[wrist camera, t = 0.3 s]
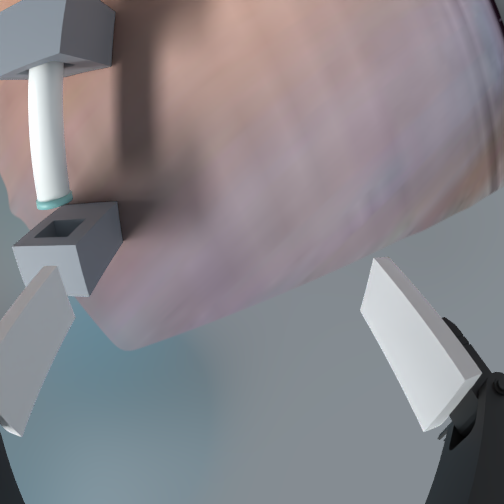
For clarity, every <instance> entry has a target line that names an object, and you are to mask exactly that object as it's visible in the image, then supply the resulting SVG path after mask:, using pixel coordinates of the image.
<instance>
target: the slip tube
mask: <svg viewBox="0 0 504 504" xmlns="http://www.w3.org/2000/svg"><path fill="white" fill-rule="evenodd" d="M63 70H64V63H63V62H57V61H51V62H48V63H45V64H42V65H39V66H36V67H33V68H31V69H29V82H28V114H29V135H30V147H31V157H32V166H33V174H34V181H35V187H36V193H37V200H36V203H37V208H38V209H39V210H48V209H53V208H57V207H60V206H62V205H65V204H67V203H69V202H70V201H72V199H73V196H72V191H71V190H70V187H69V180H68V172H67V163H66V152H65V140H64V122H63Z"/></svg>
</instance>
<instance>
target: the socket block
mask: <svg viewBox="0 0 504 504" xmlns="http://www.w3.org/2000/svg"><path fill="white" fill-rule="evenodd" d="M122 243H123V239H122V233H121V226H120V219H119V212H118V204H117V201H114V202H98V203H84V204H71V205H62V206H61V207H60V208H58V209H57V210H56V211H54V212H53V213H52V214H50V215H49V216H48V217H47V218H45V219H44V220H43V221H42V222H40V223H39V224H38V225H37V226H35V227H34V228H33V229H32V230H31V231H29V232H28V233H27V234H26V235H25V236H24V237H22V238H21V239H20V240H19V241H18V242H17V243H16V244H14V246H12V248H13V251H14V255H15V258H16V261H17V264H18V267H19V270H20V273H21V276H22V279H23V282H24V284H25V287H27V286H28V284H29V283H30V282H31V281H32V279H33V278H34V277H35V276H36V275H37V274H38V272H39V271H40V270H41V269H42V268H43V267H44V266H57V267H58V270H59V273H60V276H61V279H62V282H63V285H64V288H65V291H66V294H67V296H82V297H90V295H91V293H92V291H93V290H94V288H95V286H96V285H97V283H98V281H99V279H100V278H101V276H102V275H103V273H104V271H105V270H106V268H107V266H108V265H109V263H110V262H111V260H112V258H113V257H114V255H115V254H116V252H117V251H118V249H119V247H120V246H121V244H122Z"/></svg>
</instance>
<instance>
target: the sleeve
mask: <svg viewBox="0 0 504 504" xmlns="http://www.w3.org/2000/svg"><path fill="white" fill-rule="evenodd" d="M115 13H116V12H115V11H113V10H112V9H111V8H109V7H108V6H107V5H105V4H104V3H103V2H101V1H100V0H22V1H20V2H18V3H16V4H14V5H12V6H10V7H9V8H7V9H5V10H3V11H1V12H0V80H29V69H31V68H33V67H36V66H39V65H42V64H45V63H48V62H51V61H57V62H63V63H64V70H63V78H64V77H67V76H71V75H75V74H79V73H83V72H88V71H92V70H97V69H102V68H107V67H111V63H112V45H113V32H114V22H115Z"/></svg>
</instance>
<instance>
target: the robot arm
mask: <svg viewBox="0 0 504 504" xmlns="http://www.w3.org/2000/svg"><path fill="white" fill-rule="evenodd" d="M360 311H361V313H362V315H363V317H364V318H365V320H366V322H367V324H368V325H369V327H370V329H371V331H372V333H373V334H374V336H375V338H376V340H377V342H378V343H379V345H380V347H381V349H382V351H383V352H384V354H385V356H386V358H387V360H388V362H389V364H390V366H391V368H392V369H393V371H394V373H395V375H396V377H397V379H398V381H399V383H400V385H401V387H402V389H403V391H404V393H405V395H406V397H407V399H408V401H409V403H410V405H411V407H412V409H413V411H414V413H415V415H416V417H417V419H418V421H419V424H420V426H421V428H422V430H423V432H425V431H428V430H430V429H433V428H435V427H438V426H440V425H441V424H442V423H443V422H444V421H445V420H446V419H447V417H448V416H450V418H451V419H452V422H451V423H450V424H449V425H448V426H447V428H445V430H444V431H443V432H442V433H441V434H440V435H439V437H438V439H439V440H440V439H441V438H442V437H443V436H444V435H445V434H446V433H447V435H446V438H445V439H444V441H445V443H444V447H443V451H442V455H441V458H440V462H439V465H438V468H437V472H436V475H435V478H434V481H433V484H432V487H431V489H430V492H429V495H428V498H427V500H426V503H425V504H504V374H503V373H500V372H495V373H491V371H490V370H489V369H488V367H487V366H486V365H485V363H484V362H483V360H482V359H481V358H480V357H479V355H478V354H477V352H476V351H475V350H474V348H473V347H472V346H471V344H470V345H469V342H468V341H467V339H466V338H465V337H463V334H462V333H461V331H460V330H459V329H458V328H457V326H456V325H455V324H453V323H452V322H451V321H449V320H448V319H447V318H445V317H444V318H441V317H440V316H439V315H438V313H437V312H436V311H435V310H434V308H433V307H432V306H431V305H430V303H429V302H428V301H427V300H426V299H425V297H424V296H423V295H422V294H421V293H420V292H419V291H418V289H417V288H416V287H415V286H414V285H413V283H412V282H411V281H410V280H409V279H408V278H407V277H406V276H405V274H404V273H403V272H402V271H401V270H400V269H399V268H398V267H397V265H396V264H395V263H394V262H393V261H392V260H391V259H390V258H389V257H379V258H373V262H372V267H371V271H370V276H369V280H368V283H367V287H366V291H365V295H364V298H363V302H362V306H361V309H360ZM74 319H75V315H74V313H73V310H72V307H71V305H70V302H69V299H68V296H67V294H66V291H65V288H64V285H63V282H62V279H61V276H60V273H59V270H58V267H57V266H44V267H43V268H42V269H41V270H40V271H39V272H38V274H37V275H36V276H35V277H34V278H33V279H32V281H31V282H30V283H29V284H28V286H27V287H26V288H25V289H24V291H23V292H22V293H21V294H20V296H19V297H18V298H17V300H16V301H15V302H14V303H13V305H12V306H11V307H10V309H9V310H8V311H7V313H6V314H5V315H4V317H3V318H2V319H1V321H0V424H1V425H2V426H3V427H4V428H5V429H6V430H7V431H8V432H10V433H13V434H15V435H18V436H20V437H22V435H23V433H24V430H25V427H26V424H27V421H28V419H29V416H30V414H31V411H32V408H33V406H34V403H35V401H36V399H37V396H38V394H39V391H40V389H41V387H42V384H43V382H44V380H45V378H46V375H47V373H48V371H49V369H50V367H51V364H52V362H53V360H54V358H55V356H56V354H57V352H58V350H59V348H60V346H61V344H62V342H63V340H64V338H65V336H66V334H67V332H68V330H69V328H70V326H71V325H72V323H73V321H74ZM0 504H25V503H24V501H23V498H22V496H21V494H20V491H19V488H18V486H17V483H16V481H15V478H14V475H13V472H12V469H11V467H10V463H9V460H8V457H7V454H6V450H5V447H4V443H3V440H2V436H1V433H0Z"/></svg>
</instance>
